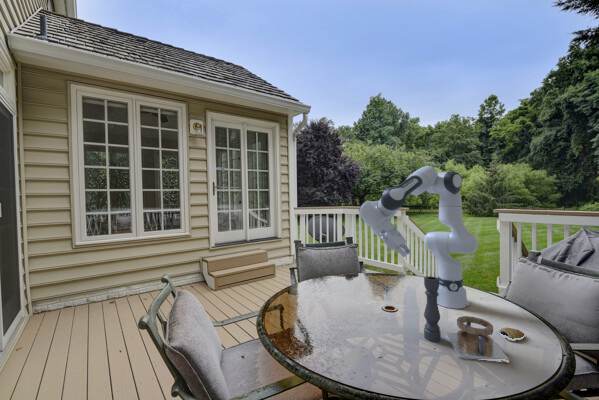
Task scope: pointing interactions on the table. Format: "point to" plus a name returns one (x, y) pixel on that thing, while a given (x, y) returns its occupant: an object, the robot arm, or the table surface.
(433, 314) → the candle holder
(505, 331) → the pastry
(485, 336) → the collar stand
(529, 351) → the table surface
